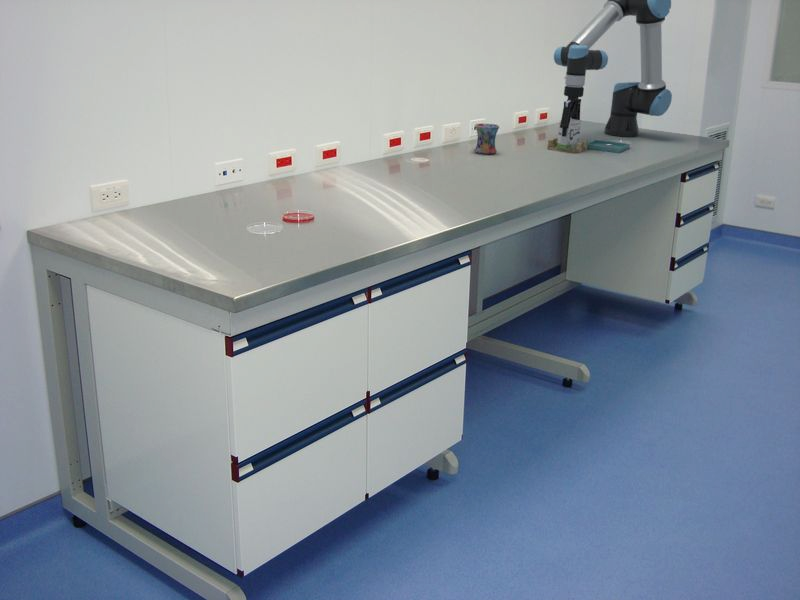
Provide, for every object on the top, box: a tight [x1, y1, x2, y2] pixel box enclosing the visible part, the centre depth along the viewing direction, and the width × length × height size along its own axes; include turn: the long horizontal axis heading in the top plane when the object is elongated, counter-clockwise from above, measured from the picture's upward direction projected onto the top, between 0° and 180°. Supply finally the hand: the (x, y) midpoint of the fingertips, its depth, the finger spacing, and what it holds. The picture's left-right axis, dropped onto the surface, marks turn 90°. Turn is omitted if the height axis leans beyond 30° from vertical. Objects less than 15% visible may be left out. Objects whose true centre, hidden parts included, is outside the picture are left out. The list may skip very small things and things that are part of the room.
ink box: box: [556, 119, 582, 150], centre depth 340 cm, size 9×5×12 cm, turn 135°
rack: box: [547, 136, 589, 154], centre depth 341 cm, size 13×13×4 cm
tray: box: [586, 139, 631, 154], centre depth 348 cm, size 14×15×2 cm
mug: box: [474, 123, 500, 155], centre depth 326 cm, size 12×9×11 cm
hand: (567, 142), depth 341 cm, fingers closed on ink box, 9 cm apart
